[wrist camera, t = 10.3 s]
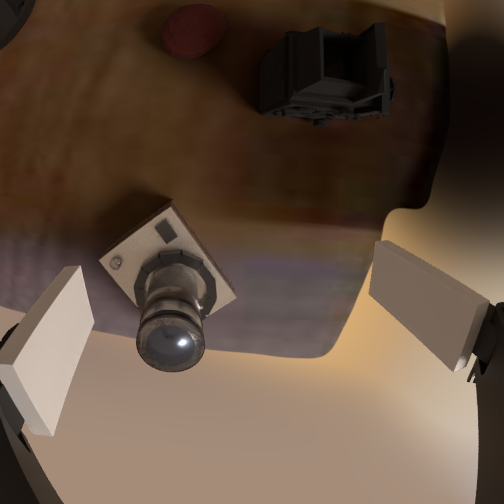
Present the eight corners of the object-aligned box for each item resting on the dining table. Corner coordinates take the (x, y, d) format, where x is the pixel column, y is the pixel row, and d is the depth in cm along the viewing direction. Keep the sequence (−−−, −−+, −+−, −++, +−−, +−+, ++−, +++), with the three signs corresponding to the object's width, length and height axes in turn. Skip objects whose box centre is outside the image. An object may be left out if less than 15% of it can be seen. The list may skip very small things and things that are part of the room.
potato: (151, 31, 31) (145, 14, 25) (208, 4, 31) (212, -15, 25) (176, 73, 34) (174, 61, 28) (234, 45, 34) (242, 30, 28)
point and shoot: (108, 247, 39) (96, 263, 33) (172, 199, 39) (169, 208, 33) (169, 321, 44) (168, 345, 39) (231, 281, 44) (238, 302, 38)
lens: (152, 312, 38) (143, 374, 27) (144, 267, 36) (129, 319, 25) (202, 308, 39) (210, 369, 28) (198, 262, 37) (204, 313, 26)
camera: (349, 131, 40) (453, 132, 22) (255, 123, 38) (316, 105, 19) (350, 65, 37) (448, 32, 19) (256, 52, 35) (314, -15, 16)
